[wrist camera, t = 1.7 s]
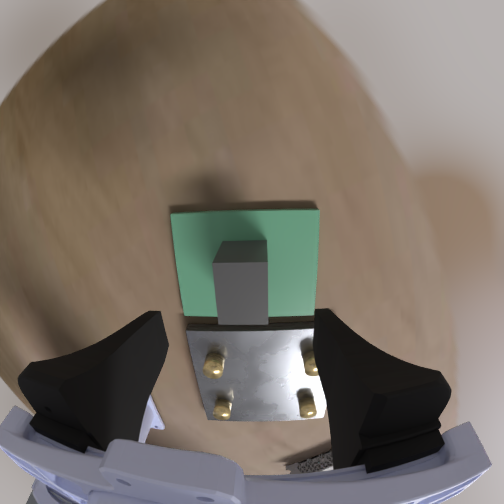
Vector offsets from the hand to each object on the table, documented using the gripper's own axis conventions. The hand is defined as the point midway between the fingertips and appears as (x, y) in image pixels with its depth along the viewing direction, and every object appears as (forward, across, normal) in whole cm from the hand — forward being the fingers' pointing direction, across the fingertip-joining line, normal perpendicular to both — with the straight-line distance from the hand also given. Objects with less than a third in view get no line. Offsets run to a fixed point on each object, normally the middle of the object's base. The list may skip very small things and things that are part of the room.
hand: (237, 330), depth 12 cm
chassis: (+8, -1, +11) cm, 14 cm away
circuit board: (+8, 0, 0) cm, 8 cm away
